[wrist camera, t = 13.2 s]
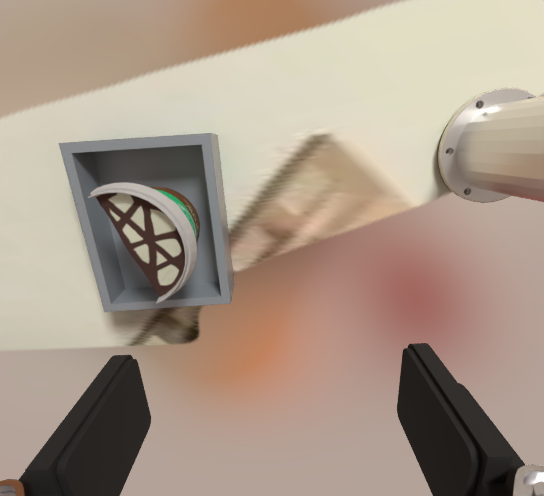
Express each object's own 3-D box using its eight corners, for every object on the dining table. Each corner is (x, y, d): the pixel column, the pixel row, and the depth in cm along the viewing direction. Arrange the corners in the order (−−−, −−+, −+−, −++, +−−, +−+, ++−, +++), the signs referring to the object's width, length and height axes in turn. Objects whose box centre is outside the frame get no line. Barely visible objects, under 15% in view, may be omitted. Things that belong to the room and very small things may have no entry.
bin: (217, 134, 35) (210, 133, 30) (234, 285, 41) (230, 303, 36) (86, 143, 35) (58, 143, 30) (122, 292, 41) (104, 312, 36)
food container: (227, 249, 38) (216, 284, 29) (184, 268, 39) (159, 308, 30) (178, 156, 35) (146, 160, 25) (131, 179, 35) (83, 191, 26)
